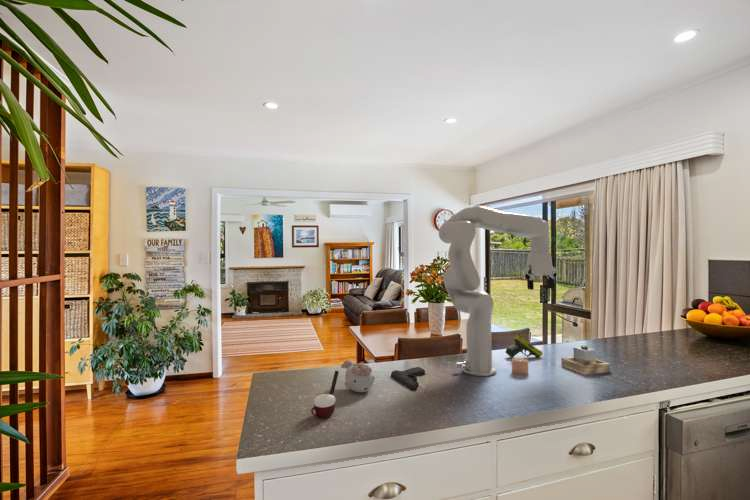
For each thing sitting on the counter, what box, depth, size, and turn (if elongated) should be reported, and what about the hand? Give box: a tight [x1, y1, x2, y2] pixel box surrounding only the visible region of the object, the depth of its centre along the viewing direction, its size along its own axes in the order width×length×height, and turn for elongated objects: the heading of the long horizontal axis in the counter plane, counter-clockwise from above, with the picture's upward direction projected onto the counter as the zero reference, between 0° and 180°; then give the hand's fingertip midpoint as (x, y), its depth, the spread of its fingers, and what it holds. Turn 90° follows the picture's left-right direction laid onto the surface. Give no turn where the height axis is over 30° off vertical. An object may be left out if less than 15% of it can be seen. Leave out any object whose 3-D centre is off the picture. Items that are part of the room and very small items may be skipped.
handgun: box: [390, 366, 426, 391], centre depth 144 cm, size 2×18×13 cm
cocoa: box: [310, 370, 340, 419], centre depth 115 cm, size 10×6×12 cm, turn 110°
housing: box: [572, 345, 597, 365], centre depth 154 cm, size 6×5×7 cm
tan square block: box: [511, 357, 529, 376], centre depth 150 cm, size 6×6×5 cm
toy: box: [340, 359, 375, 393], centre depth 137 cm, size 10×15×10 cm, turn 27°
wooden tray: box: [560, 356, 611, 376], centre depth 154 cm, size 12×12×3 cm
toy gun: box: [505, 334, 543, 359], centre depth 171 cm, size 2×14×10 cm
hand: (540, 288), depth 169 cm, fingers open, 9 cm apart
